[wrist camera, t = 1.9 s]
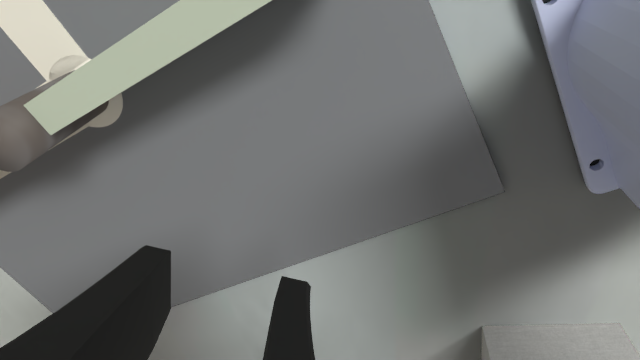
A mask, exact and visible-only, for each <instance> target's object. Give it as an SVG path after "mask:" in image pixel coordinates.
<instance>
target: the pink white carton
mask: <svg viewBox="0 0 640 360" xmlns="http://www.w3.org/2000/svg"><path fill="white" fill-rule="evenodd" d="M481 360H640V355H639V354H638V352H637V350H636V349H635V347H634V345H633V344H632V342H631V340H630V339H629V337H628V335H627V334H626V332H625V330H624V329H623V327H622V325H621V324H620V323H591V324H547V325H502V326H482V348H481Z"/></svg>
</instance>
